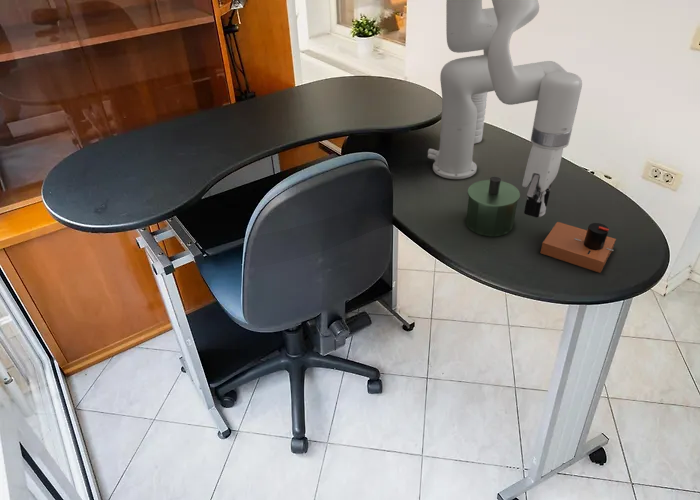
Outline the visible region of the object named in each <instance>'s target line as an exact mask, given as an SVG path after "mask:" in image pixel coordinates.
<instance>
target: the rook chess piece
mask: <svg viewBox="0 0 700 500" xmlns="http://www.w3.org/2000/svg"><path fill="white" fill-rule="evenodd" d="M537 187H538V188H540V187H539V186H537ZM535 194H537V195H539V192H537V191H536V192H535ZM545 194H546V191H543V194H542V197H541V202H542V204H541V209H540V214H539V216H538V217H537V218H542V217H543V216H545V214H546V210H547V206H545V203H544V195H545ZM530 217H531V218H534V217H533V216H530Z"/></svg>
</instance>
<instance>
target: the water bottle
mask: <svg viewBox="0 0 700 500" xmlns="http://www.w3.org/2000/svg"><path fill="white" fill-rule="evenodd" d="M488 93H489V92H485V93H479V94H475V95H472V96H471V100H472V102H473V103H474V104H475V106H476V108H477V121H476V130H475V139H474V145H475V144H479V143H481V142H482V140H483V132H484V126H485V118H486V117H485V115H486V108H487V99H488Z"/></svg>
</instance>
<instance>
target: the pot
mask: <svg viewBox="0 0 700 500" xmlns="http://www.w3.org/2000/svg"><path fill="white" fill-rule="evenodd" d="M467 201H468V202H467V208H466V209H467V210H466V219H465V225H466V227H467V228H468V229H469V230H470V231H471V232H472V233H475V234H477V235H479V236H483V237H488V238H490V237H491V238H496V237H497V238H498V237H501V236H505V235H507V234H509V233H510V232H512V230H513V227H514V223H515V219H516V212H517V207H518V202H519V200H518V201H517V202H516V203H515V204H513V205H510V206H507V207H488V206H484V205H480V204H478V203H476V202H474V201H473V200H472V199H470V197H469V196H468V200H467Z"/></svg>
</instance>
